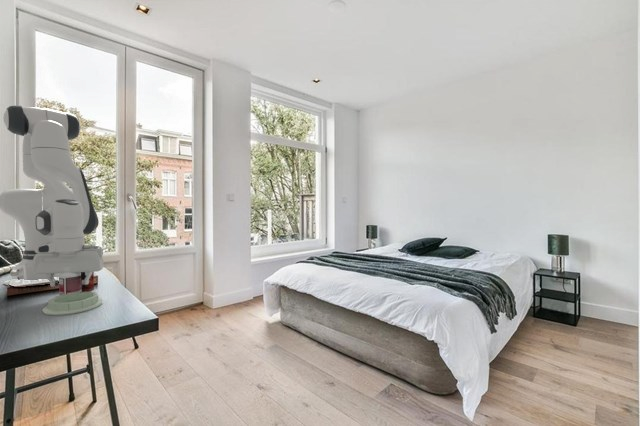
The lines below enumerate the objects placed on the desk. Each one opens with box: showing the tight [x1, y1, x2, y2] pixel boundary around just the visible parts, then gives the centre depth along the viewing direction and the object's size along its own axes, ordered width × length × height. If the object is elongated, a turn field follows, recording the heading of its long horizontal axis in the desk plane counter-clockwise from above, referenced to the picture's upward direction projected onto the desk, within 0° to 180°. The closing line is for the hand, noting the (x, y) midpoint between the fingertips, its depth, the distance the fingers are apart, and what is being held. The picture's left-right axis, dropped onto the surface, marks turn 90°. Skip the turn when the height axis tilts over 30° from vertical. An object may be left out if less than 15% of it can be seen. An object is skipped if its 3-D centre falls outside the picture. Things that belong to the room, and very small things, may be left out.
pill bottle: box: [58, 267, 83, 296], centre depth 111 cm, size 6×6×11 cm
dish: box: [42, 291, 103, 316], centre depth 101 cm, size 15×15×3 cm
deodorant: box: [80, 272, 95, 292], centre depth 122 cm, size 6×6×15 cm
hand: (70, 285), depth 111 cm, fingers open, 8 cm apart
